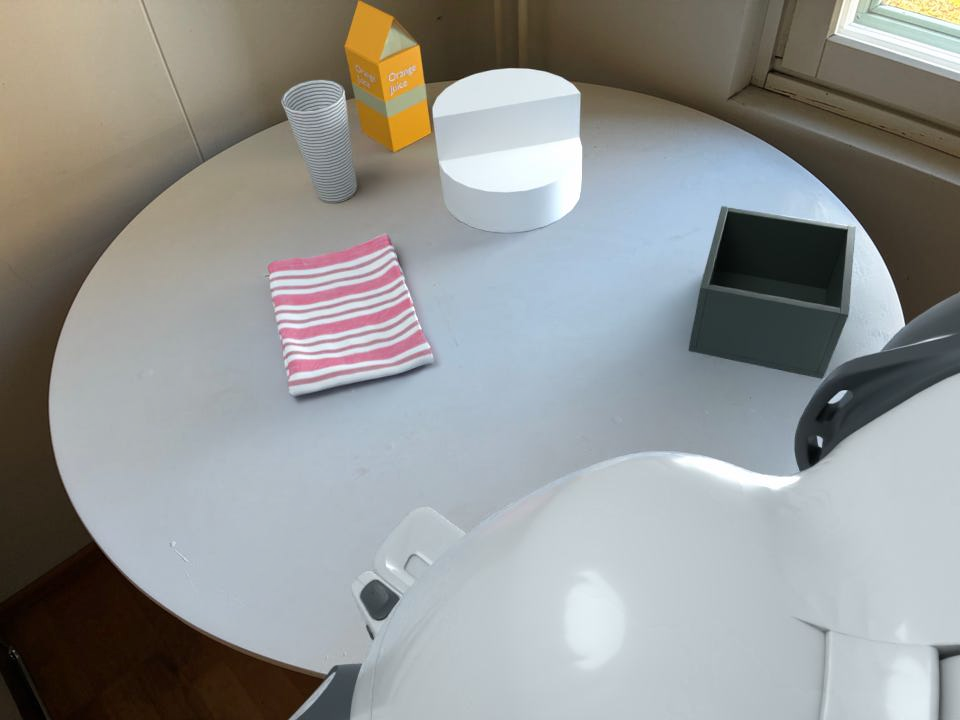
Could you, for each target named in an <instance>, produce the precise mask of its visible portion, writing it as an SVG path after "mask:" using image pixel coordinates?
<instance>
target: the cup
mask: <svg viewBox="0 0 960 720" xmlns="http://www.w3.org/2000/svg"><path fill="white" fill-rule="evenodd" d="M281 104H282V107H283V109H284V112H285V115H286V118H287V119H288V123H289V125H290V127H291V131H292V132H293V135H294V138H295V142H296V144H297V146H298V148H299V151H300V155H301V156H302V158H303V162H304V164H305V166H306V167H305V168H306V169H307V172H308V175H309V177H310V180H311V182H312V185H313V188H314V190H315V193H316V195H317V198H318V199H320V200H321V201H322V202H325V203H330V204H333V203H335V204H336V203H341V202H344V201H347V200H348V199H350V198H352V197H353V196H354V195H355V194H356V192H357V188H358V185H357V184H358V183H357V176H356V169H355V161H354V154H353V147H352V146H353V145H352V137H351V131H350V124H349V116H348V106H347V100H346V92H345V89H344V87H343V86H342V84H340V83H339V82H336V81H334V80H330V79H324V78H323V79H311V80H307V81H306V80H305V81H303V82H299V83H297V84H295V85H292V86H290V88H288V89H287V90H286V91H285V92H284V93H283V94H282V96H281Z"/></svg>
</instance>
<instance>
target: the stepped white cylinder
mask: <svg viewBox="0 0 960 720" xmlns="http://www.w3.org/2000/svg"><path fill="white" fill-rule="evenodd" d="M581 95H582V93H581V91H579V89H578V88H577V87H576V86H575V85H574V84H573V83H572V82H570V81H569V80H567V79H565V78H564V77H562V76H559V75H557V74H554V73H551V72H548V71H545V70H537V69H533V68H532V69H531V68H518V67H517V68H515V67H513V68H512V67H509V68H499V69H498V68H497V69H490V70H487V71H481V72H478V73H477V72H476V73H474V74H471V75H468V76H466V77H464V78H461V79H459V80H457V81H455V82H454V83H452V84H451V85H449V86H447V87H445V89H443V90H442V92H441V93H440V94H438V95H437V96H436V99H435V100H434V103H433V105H432V121H433V129H434V137H435V144H436V151H437V159H438V160H437V161H438V168H439V175H440V176H439V177H440V183H441V192H442V199H443V203H444V205H445V207H446V209H447V210H448V212H449V213H450V214H451V215H452V216H453V217H454V218H455V219H457V220H458V221H459V222H461V223H463V224H465V225H467V226H469V227H471V228H472V229H477V230H480V231H481V230H482V231H484V232H490V233H500V234H501V233H502V234H514V233H524V232H530V231H534V230H537V229H541V228H545V227H548V226H549V225H551V224H554V223H556V222H557V221H560V220H561V219H562V218H564V217H565V216H566V215H567V214H569V213H570V212H571V211H572V210H573V209H574V207H575V206H576V204H577V203H578V201H579V199H580V195H581V191H582V190H581V189H582V165H583V145H582V142H581V138H580V132H581V131H580V129H581V125H580V123H581Z"/></svg>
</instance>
